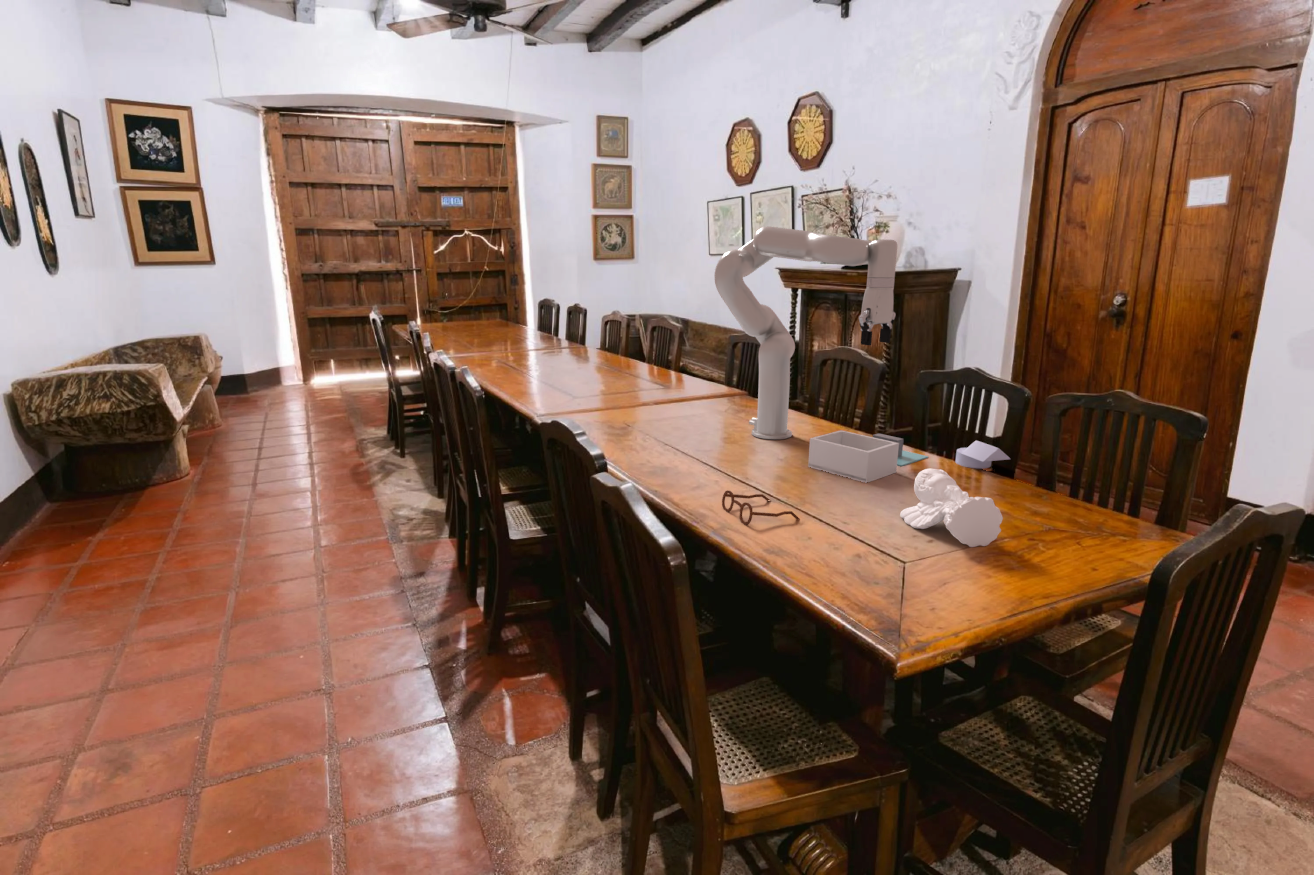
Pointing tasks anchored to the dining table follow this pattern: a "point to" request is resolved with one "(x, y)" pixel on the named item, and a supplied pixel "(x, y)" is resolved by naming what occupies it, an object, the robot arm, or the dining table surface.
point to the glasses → (750, 506)
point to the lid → (901, 451)
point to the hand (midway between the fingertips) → (875, 343)
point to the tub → (853, 455)
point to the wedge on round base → (979, 455)
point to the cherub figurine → (953, 509)
